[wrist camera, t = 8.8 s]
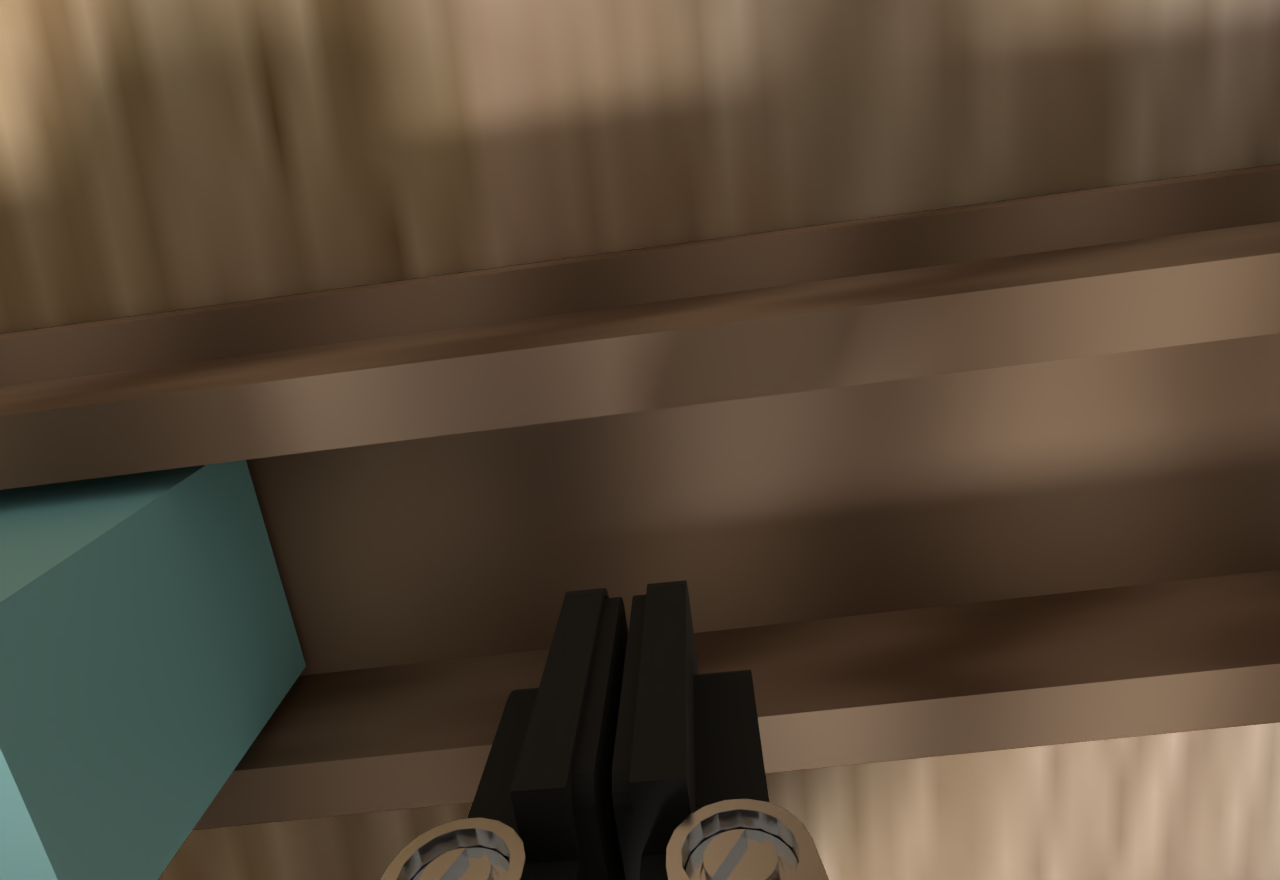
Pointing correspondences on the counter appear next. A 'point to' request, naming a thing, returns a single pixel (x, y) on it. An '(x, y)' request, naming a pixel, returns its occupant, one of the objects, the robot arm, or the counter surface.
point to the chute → (740, 478)
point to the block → (131, 664)
